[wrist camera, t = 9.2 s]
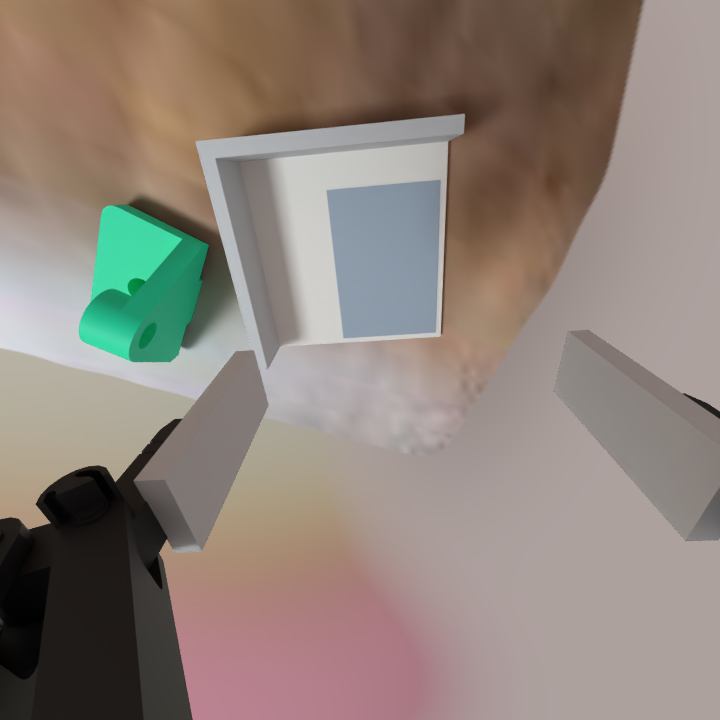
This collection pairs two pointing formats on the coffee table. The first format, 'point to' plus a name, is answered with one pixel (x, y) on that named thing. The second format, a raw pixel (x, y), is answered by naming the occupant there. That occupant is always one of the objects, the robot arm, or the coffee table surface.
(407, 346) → the coffee table surface
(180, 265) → the camera mount
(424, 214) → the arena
